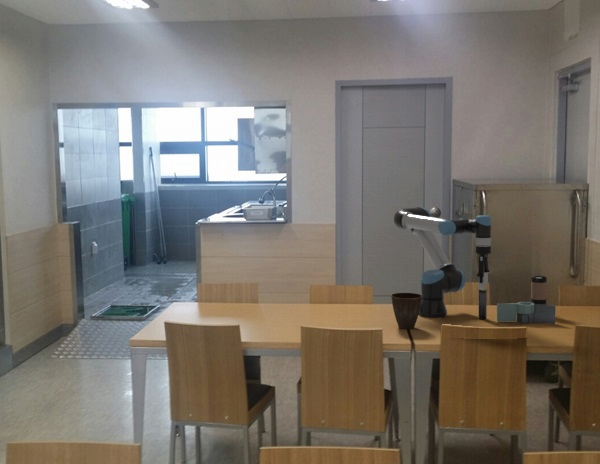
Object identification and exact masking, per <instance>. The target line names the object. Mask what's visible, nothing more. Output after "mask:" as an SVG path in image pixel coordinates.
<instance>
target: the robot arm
mask: <svg viewBox="0 0 600 464" xmlns="http://www.w3.org/2000/svg"><path fill="white" fill-rule="evenodd" d="M393 223H394V224H395V226H396V227H397V228H398V229H401V230H410V231H411V233H412V234H413V235H414V236H417V238H418V240H419V242H420V244H421V246H422V248H423V249H424V252H425V253H426V255H427V256H428V259H429V261H430V262H431V264H432V266H433V268H434V269H429V270H426V271H423V272H422V274H421V280H420V283H421V285H420V287H421V288H420V289H421V290H420V291H421V294H420V295H422V301H421V306H420V311H419V315H418V317H422V318H423V317H424V318H432V319H434V318H435V319H436V318H437V319H438V318H444V317H447V316H448V309H447V307H446V303H445V300H444V299H445V294H449V293H450V294H452V293H457V292H459V291H462V290H463V288H464V287H465V285H466V282H467V281H466V280H467V278H466V274H465V273H464V272H463V271H462V270H461V269H457V268H456V266H455V264H454V263H451V262H450V261H449V259H448V257H447V255H446V253H445V251H444V250H443V248H442V246H441V245H440V242H439V241H438V240H437V237H436V235H435V234H434V232H435V233H440V234H441V235H443V236H453V235H461V234H475V253H476V254H478V255H480V256H479V257H478V272H477V274H476V277H478V287H477V290H478V289H483V290H484V287H485V286H488V285H489V283H488V282H489V273H490V270H489V261H488V259H489V258H488V255H489V254H491V253H492V246H491V245H492V242H493V239H492V218H491V216H490V215H486V214H485V215H476V216H475V218H468V217H462V218H459V219H458V218H457V219H447V218H441V217H440V218H439V217H434V216H432V214H431V212H430V211H429V210H428V209H427V208H425V207H419V206H417V207H408V208H407V207H406V208H400V209H398V210H397V211H396V212H395V214H394V215H393Z"/></svg>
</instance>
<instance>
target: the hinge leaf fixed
mask: <svg viewBox="0 0 600 464" xmlns="http://www.w3.org/2000/svg"><path fill="white" fill-rule="evenodd" d="M556 307H557V306H556V304H546V305H544V304H535V313H533V314H520V313H517V315H516V323H519V324H525V325H526V324H527V325H530V324H548V325H555V324H556Z"/></svg>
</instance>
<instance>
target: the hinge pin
mask: <svg viewBox="0 0 600 464" xmlns="http://www.w3.org/2000/svg"><path fill="white" fill-rule="evenodd" d="M477 291H478V320H483V321H484V320H487V319H488V318H487V310H488V309H487V304H488V302H487V301H488V299H487V298H488V295H487V294H488V291H489V287H485V286H484V290H483V289H478V288H477Z"/></svg>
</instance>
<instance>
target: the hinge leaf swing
mask: <svg viewBox="0 0 600 464" xmlns="http://www.w3.org/2000/svg"><path fill="white" fill-rule="evenodd" d="M517 313H520V314H533V313H535V304H534V303H531V301H519V302H515V303H512V302H511V303H509V302H507V303H496V322H497V323H498V322H501V323H502V322H503V323H504V322H505V323H507V322H508V323H509V322H511V323H512V322H516V323H517Z"/></svg>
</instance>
